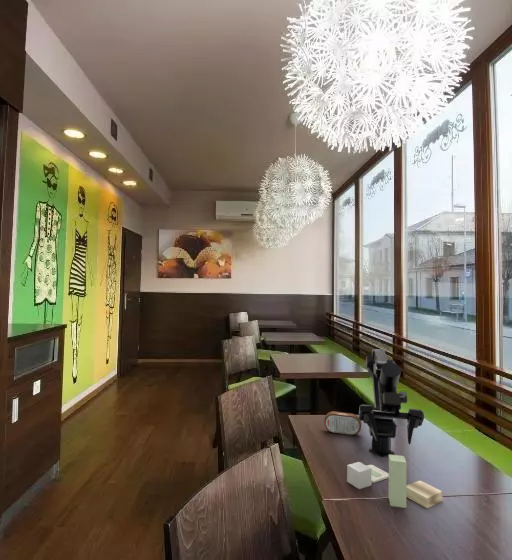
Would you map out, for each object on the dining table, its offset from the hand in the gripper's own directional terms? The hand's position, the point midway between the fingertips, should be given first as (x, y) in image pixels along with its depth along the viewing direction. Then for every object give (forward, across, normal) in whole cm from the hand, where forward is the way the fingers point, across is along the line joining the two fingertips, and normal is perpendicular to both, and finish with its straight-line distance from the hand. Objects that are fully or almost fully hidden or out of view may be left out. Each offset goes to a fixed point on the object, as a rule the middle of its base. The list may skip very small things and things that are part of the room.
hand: (393, 442), depth 107 cm
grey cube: (+9, -10, +10) cm, 17 cm away
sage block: (+15, 0, +4) cm, 16 cm away
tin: (-19, -14, +38) cm, 45 cm away
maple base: (+12, +8, +8) cm, 16 cm away
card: (+4, -5, +15) cm, 16 cm away
